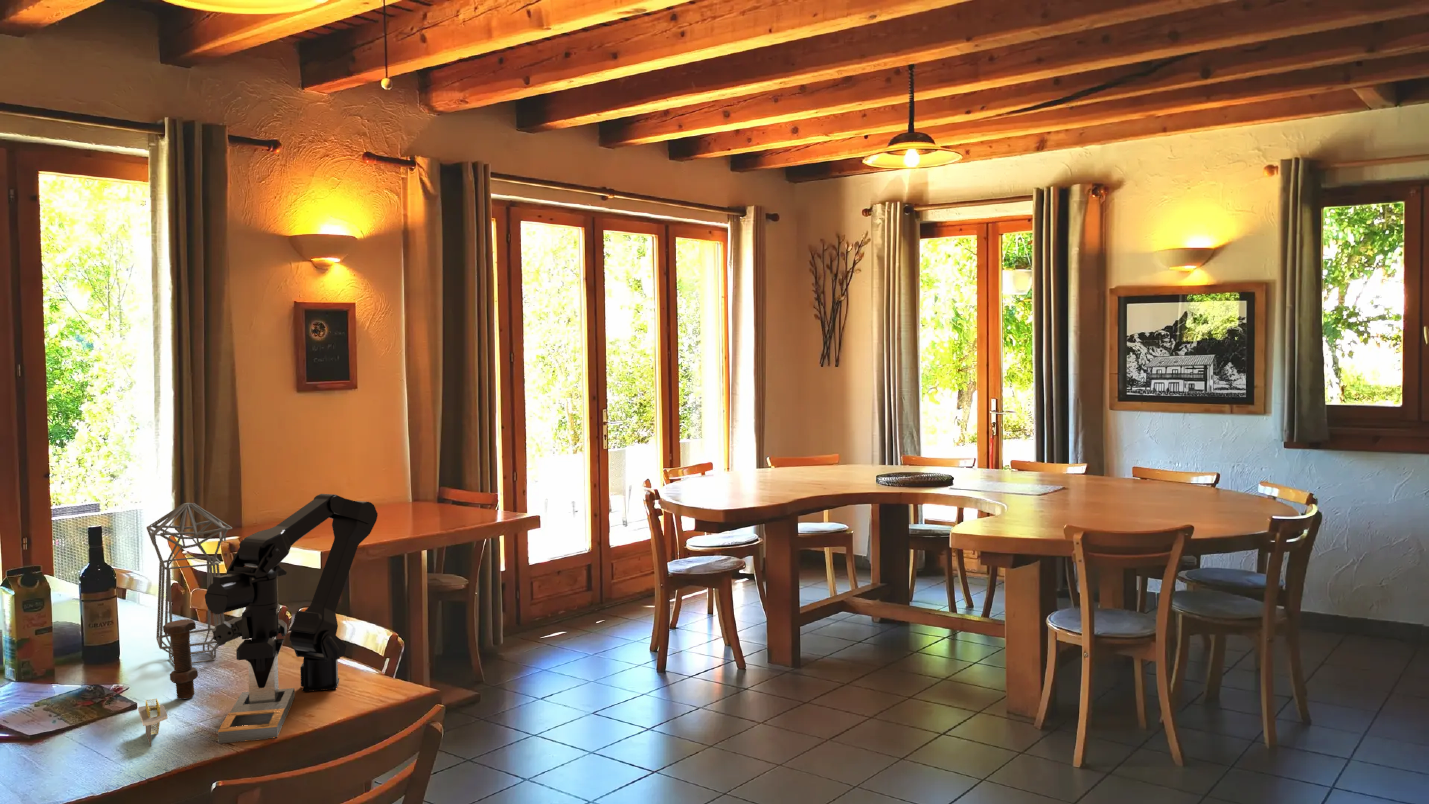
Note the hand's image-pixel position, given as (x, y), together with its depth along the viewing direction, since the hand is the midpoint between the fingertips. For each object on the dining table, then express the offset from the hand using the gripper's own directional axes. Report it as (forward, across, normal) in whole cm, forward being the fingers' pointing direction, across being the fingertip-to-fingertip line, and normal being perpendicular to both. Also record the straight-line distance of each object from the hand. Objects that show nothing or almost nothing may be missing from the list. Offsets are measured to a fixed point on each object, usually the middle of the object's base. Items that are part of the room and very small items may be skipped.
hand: (263, 683), depth 199 cm
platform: (+5, +12, -16) cm, 21 cm away
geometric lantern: (+5, -40, -21) cm, 45 cm away
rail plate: (+5, +6, 0) cm, 8 cm away
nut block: (+3, 0, 0) cm, 3 cm away
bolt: (+5, -11, -16) cm, 20 cm away
